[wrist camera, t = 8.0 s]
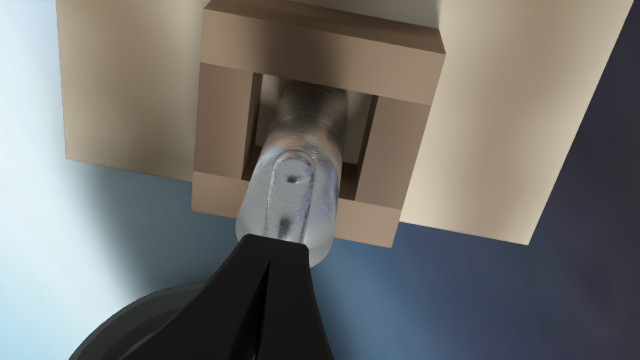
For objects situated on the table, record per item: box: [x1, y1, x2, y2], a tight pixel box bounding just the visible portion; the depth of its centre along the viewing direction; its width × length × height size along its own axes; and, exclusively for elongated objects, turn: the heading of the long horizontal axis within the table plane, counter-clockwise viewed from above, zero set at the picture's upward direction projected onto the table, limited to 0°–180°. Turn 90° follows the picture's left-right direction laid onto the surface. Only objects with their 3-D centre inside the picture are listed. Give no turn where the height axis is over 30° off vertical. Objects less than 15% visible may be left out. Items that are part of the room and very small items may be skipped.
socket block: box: [191, 0, 446, 248], centre depth 20 cm, size 7×7×2 cm
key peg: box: [235, 80, 348, 268], centre depth 17 cm, size 2×5×8 cm, turn 171°
